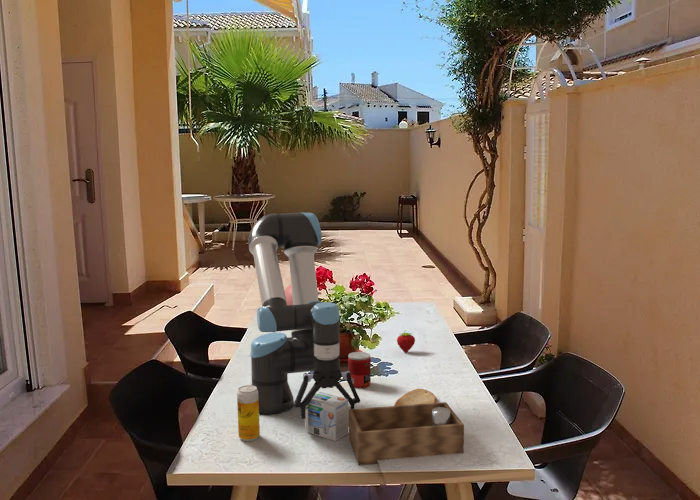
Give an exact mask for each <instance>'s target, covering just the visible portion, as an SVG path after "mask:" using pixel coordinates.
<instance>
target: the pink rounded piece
mask: <svg viewBox="0 0 700 500" xmlns="http://www.w3.org/2000/svg"><path fill="white" fill-rule="evenodd" d="M284 291H285V296H286V301H287V305H293V297H292V286H291V284H289V285H288V286H287V287H286V288H284ZM317 292H318V296H319V295H322V292H321V291H318V290H317Z"/></svg>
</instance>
